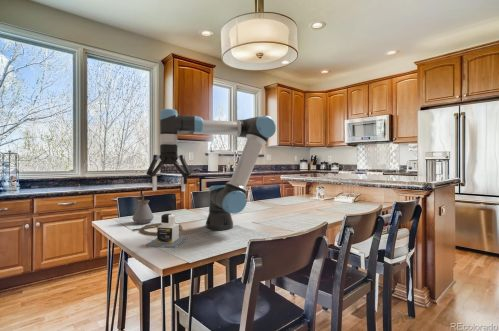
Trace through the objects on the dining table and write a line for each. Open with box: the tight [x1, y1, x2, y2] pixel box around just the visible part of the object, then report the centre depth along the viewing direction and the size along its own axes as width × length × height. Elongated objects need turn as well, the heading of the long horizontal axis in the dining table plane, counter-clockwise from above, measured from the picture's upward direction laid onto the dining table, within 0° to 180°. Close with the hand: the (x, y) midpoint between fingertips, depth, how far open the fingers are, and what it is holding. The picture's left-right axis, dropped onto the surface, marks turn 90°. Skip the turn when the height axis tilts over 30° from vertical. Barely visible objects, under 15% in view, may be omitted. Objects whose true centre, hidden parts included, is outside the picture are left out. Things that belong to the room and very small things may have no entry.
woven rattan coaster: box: [140, 222, 183, 236], centre depth 147 cm, size 20×20×1 cm
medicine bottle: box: [156, 213, 180, 243], centre depth 126 cm, size 7×7×12 cm
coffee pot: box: [132, 193, 154, 225], centre depth 166 cm, size 21×12×15 cm, turn 21°
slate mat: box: [145, 236, 189, 248], centre depth 126 cm, size 14×14×1 cm
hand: (168, 191), depth 127 cm, fingers open, 13 cm apart
